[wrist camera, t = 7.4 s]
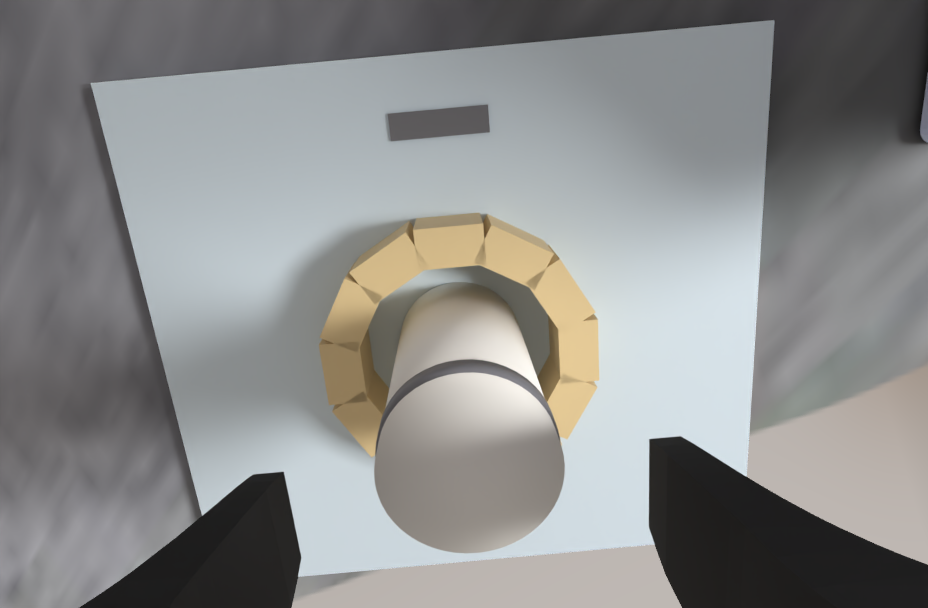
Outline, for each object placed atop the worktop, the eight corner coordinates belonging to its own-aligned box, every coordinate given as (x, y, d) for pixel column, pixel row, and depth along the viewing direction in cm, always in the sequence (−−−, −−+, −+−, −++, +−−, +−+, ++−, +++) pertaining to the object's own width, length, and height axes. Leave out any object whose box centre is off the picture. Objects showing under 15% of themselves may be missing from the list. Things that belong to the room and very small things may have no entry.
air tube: (517, 275, 20) (563, 375, 12) (524, 389, 21) (570, 546, 13) (392, 286, 20) (359, 394, 12) (406, 400, 21) (384, 563, 13)
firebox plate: (764, 22, 18) (814, 8, 16) (736, 525, 24) (769, 574, 21) (101, 83, 18) (47, 79, 16) (224, 572, 24) (198, 626, 21)
